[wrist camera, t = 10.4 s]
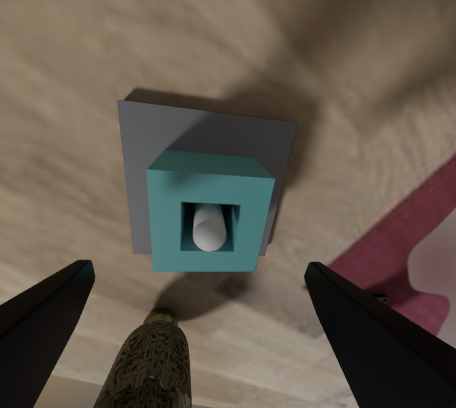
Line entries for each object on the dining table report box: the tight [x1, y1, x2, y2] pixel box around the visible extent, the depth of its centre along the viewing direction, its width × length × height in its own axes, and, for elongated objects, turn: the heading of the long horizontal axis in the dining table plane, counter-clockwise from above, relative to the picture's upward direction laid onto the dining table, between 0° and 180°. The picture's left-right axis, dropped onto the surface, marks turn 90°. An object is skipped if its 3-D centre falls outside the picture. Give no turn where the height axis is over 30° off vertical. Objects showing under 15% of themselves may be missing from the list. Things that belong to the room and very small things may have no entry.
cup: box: [93, 309, 192, 408], centre depth 19 cm, size 8×7×8 cm
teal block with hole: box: [146, 150, 275, 272], centre depth 13 cm, size 6×6×5 cm
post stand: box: [117, 100, 298, 256], centre depth 13 cm, size 12×12×7 cm
